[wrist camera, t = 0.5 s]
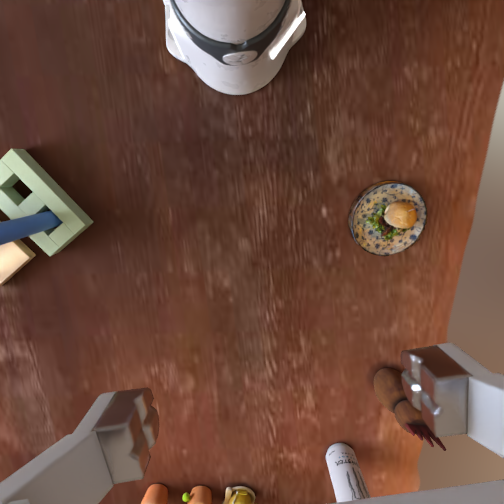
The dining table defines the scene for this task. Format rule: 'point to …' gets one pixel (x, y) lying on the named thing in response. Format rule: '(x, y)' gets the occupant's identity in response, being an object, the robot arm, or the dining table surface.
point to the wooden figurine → (401, 405)
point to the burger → (388, 218)
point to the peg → (27, 226)
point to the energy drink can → (345, 473)
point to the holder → (39, 201)
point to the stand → (13, 259)
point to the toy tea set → (199, 495)
